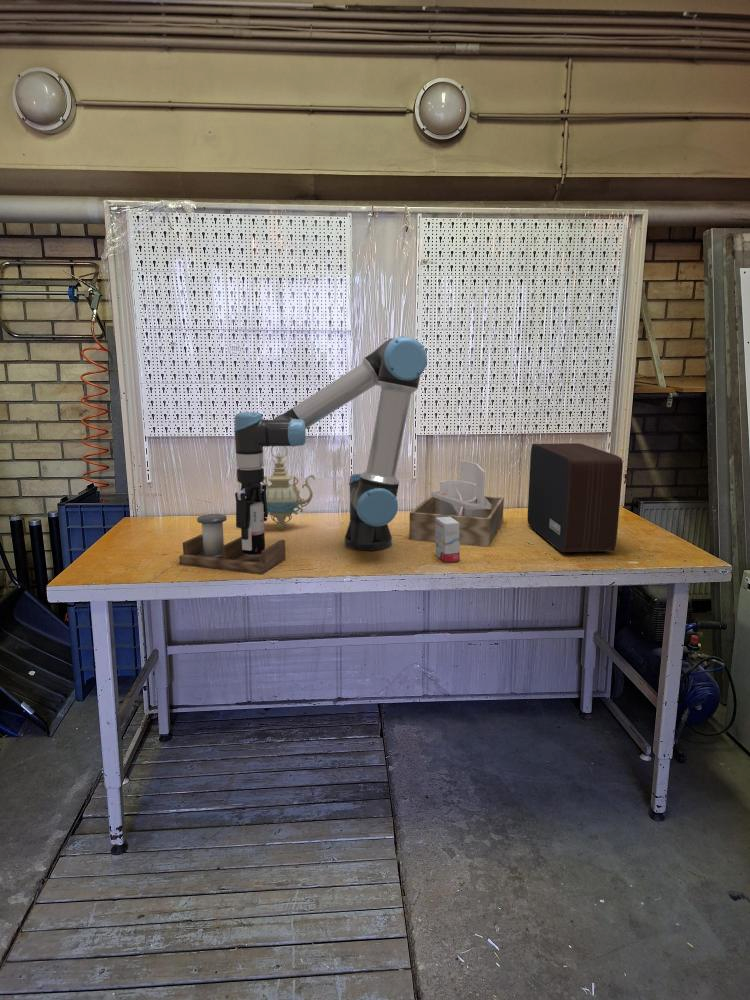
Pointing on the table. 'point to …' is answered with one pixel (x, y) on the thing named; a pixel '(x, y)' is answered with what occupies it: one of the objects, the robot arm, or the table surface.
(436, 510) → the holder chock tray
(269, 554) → the wooden divided tray
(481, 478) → the architectural model
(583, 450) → the brown wooden speaker
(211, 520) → the cable reel
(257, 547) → the beverage can
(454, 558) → the ink box
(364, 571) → the table surface
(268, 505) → the ornate lidded vase
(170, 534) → the table surface
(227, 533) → the table surface
